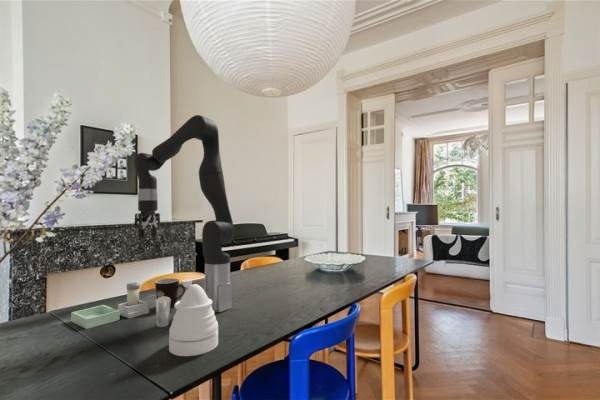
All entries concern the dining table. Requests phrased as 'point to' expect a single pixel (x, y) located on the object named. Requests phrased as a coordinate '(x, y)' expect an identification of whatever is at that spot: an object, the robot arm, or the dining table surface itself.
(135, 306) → the holder
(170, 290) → the coffee mug
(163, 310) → the milkshake
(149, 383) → the dining table surface
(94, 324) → the tray
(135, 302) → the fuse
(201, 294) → the honey pot
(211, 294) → the robot arm
